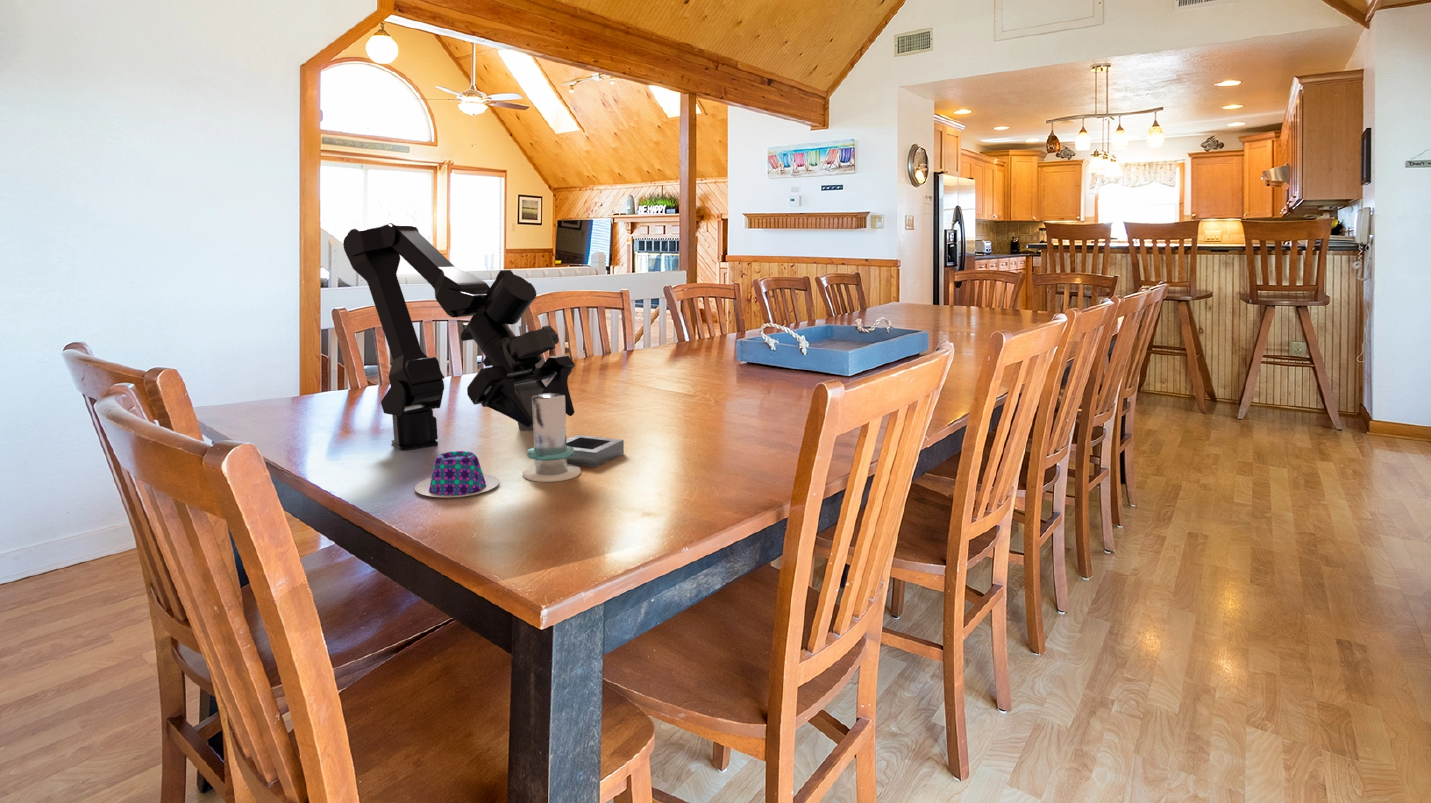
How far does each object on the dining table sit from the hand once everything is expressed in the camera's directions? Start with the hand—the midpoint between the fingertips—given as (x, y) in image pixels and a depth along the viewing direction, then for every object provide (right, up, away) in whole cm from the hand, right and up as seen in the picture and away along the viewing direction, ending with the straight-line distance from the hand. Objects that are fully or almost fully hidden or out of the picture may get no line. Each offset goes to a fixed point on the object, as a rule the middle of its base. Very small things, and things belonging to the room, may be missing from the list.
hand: (552, 419), depth 122 cm
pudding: (-13, -10, -5) cm, 17 cm away
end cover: (-1, -8, +2) cm, 8 cm away
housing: (+3, -7, +11) cm, 14 cm away
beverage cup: (-11, -3, +32) cm, 34 cm away
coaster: (0, -9, +2) cm, 9 cm away
